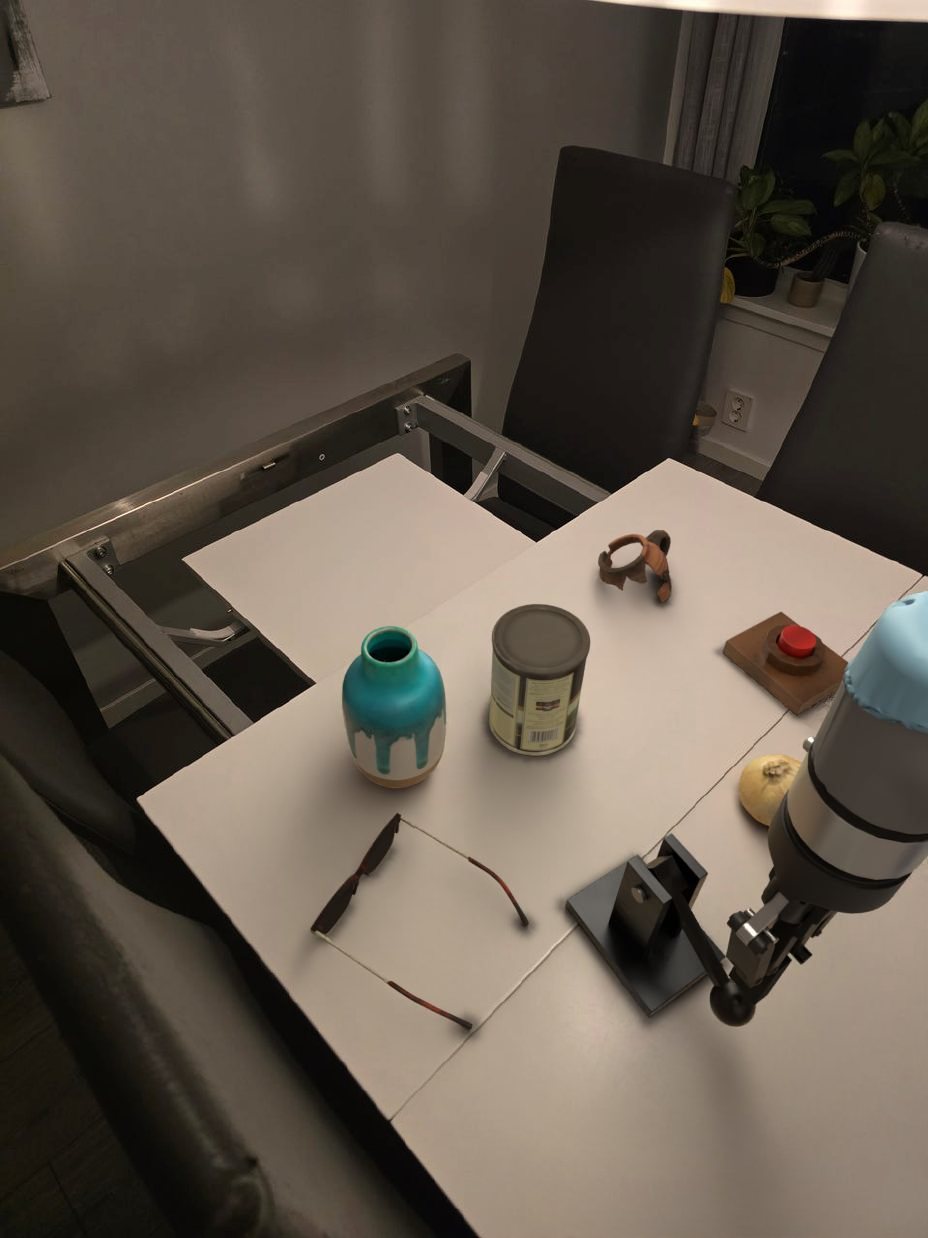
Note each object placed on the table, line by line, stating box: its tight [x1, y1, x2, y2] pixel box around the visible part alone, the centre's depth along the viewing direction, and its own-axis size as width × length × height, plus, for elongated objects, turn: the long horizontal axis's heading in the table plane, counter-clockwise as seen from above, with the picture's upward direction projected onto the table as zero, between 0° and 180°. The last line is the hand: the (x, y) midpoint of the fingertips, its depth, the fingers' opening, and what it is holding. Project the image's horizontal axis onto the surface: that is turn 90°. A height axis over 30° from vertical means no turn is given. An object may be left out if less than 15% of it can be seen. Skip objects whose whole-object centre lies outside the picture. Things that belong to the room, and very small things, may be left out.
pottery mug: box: [597, 529, 673, 604], centre depth 108 cm, size 12×10×8 cm
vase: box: [341, 625, 448, 789], centre depth 80 cm, size 11×11×19 cm
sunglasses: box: [309, 812, 530, 1030], centre depth 72 cm, size 14×16×5 cm
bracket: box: [565, 833, 727, 1018], centre depth 69 cm, size 12×9×13 cm
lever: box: [645, 855, 757, 1028], centre depth 65 cm, size 14×4×4 cm, turn 32°
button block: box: [722, 611, 849, 716], centre depth 97 cm, size 12×10×4 cm
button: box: [778, 625, 816, 659], centre depth 95 cm, size 4×4×2 cm
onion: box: [738, 754, 802, 827], centre depth 81 cm, size 8×8×7 cm
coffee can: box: [488, 603, 591, 757], centre depth 87 cm, size 10×10×14 cm
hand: (747, 985), depth 61 cm, fingers closed
